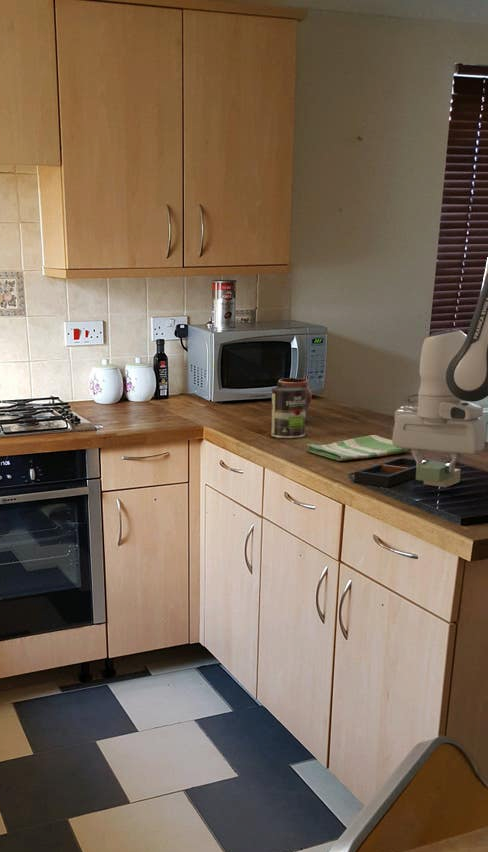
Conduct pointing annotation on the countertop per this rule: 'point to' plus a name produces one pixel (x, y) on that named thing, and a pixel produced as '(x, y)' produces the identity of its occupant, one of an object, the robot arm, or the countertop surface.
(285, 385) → the decorative planter
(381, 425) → the countertop surface
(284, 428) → the coffee can
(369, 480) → the divided tray
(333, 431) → the countertop surface
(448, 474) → the sage pad
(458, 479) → the cream pad
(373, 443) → the dish towel
